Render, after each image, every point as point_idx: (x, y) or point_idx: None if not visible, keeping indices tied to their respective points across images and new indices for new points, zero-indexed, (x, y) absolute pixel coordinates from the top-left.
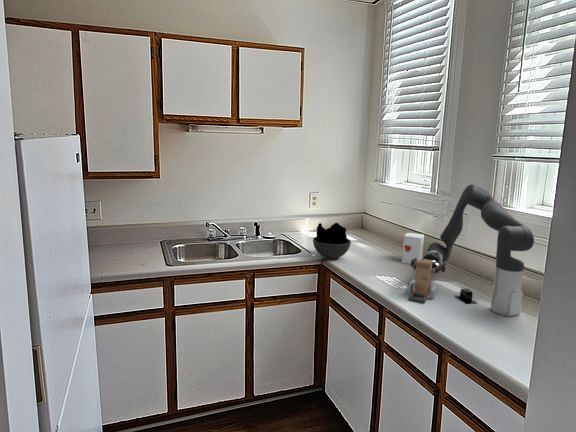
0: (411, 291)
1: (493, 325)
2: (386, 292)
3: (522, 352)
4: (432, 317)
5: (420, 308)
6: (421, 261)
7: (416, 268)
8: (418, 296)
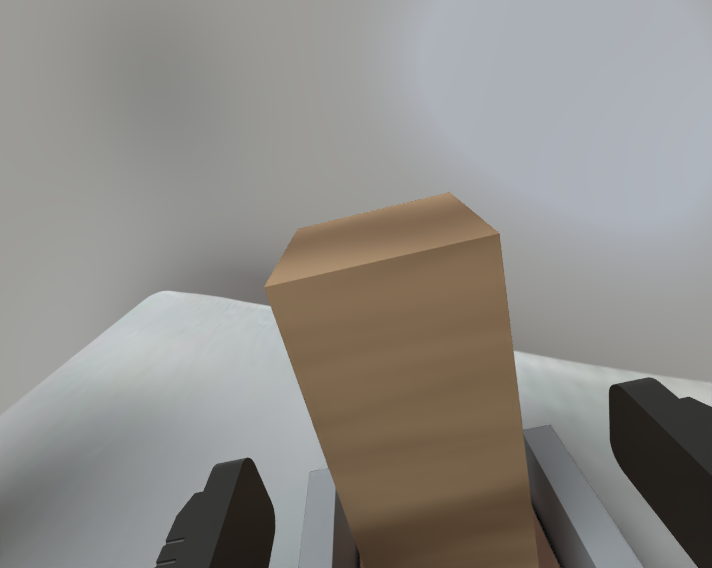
0: (549, 527)
1: (70, 431)
2: None
3: (90, 349)
4: None
5: None
6: (408, 210)
7: (661, 512)
8: None
